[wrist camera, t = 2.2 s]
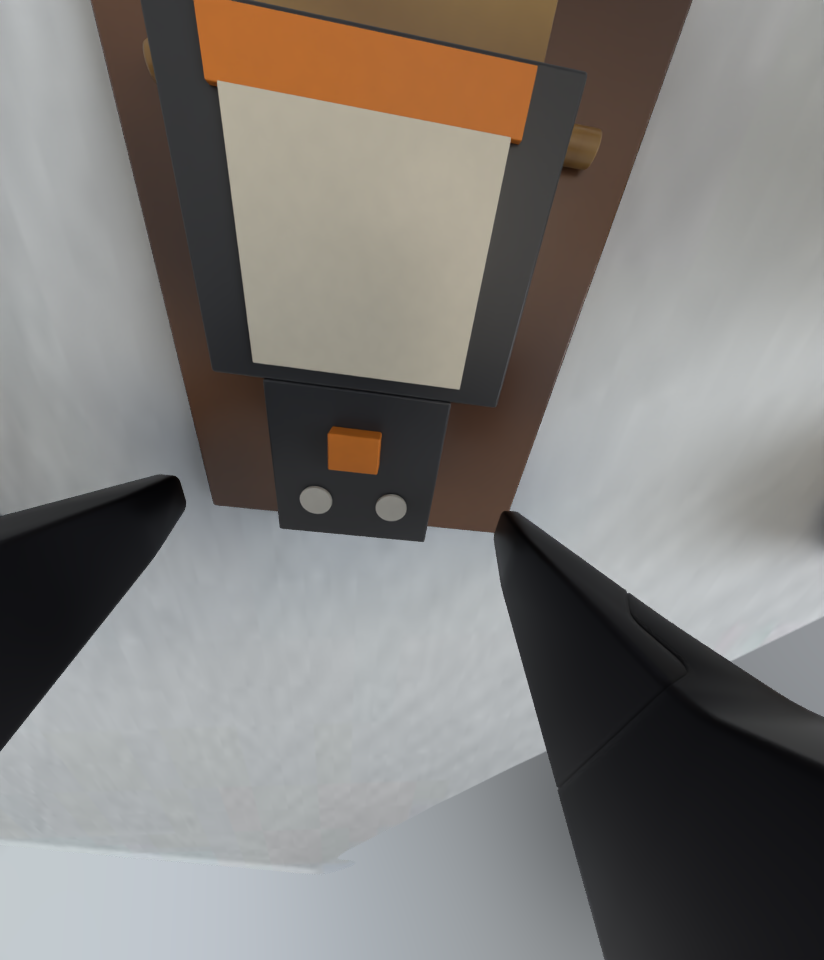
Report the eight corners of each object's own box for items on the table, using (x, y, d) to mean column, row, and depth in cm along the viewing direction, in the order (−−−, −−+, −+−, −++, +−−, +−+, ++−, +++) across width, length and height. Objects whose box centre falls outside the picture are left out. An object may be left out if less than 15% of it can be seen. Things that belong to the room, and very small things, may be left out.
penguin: (220, 77, 7) (97, -73, 4) (537, 139, 7) (610, 42, 5) (271, 487, 12) (232, 537, 10) (450, 505, 13) (461, 558, 10)
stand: (70, -224, 6) (-42, -398, 4) (694, -64, 7) (773, -166, 5) (225, 493, 14) (204, 514, 13) (496, 521, 15) (505, 543, 13)
